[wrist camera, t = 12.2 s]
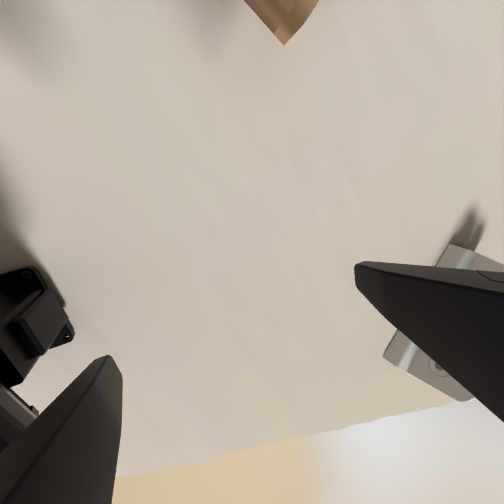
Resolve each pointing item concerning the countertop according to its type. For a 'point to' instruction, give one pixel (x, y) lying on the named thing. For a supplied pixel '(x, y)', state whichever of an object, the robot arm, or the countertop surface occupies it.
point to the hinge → (412, 356)
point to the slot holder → (283, 15)
